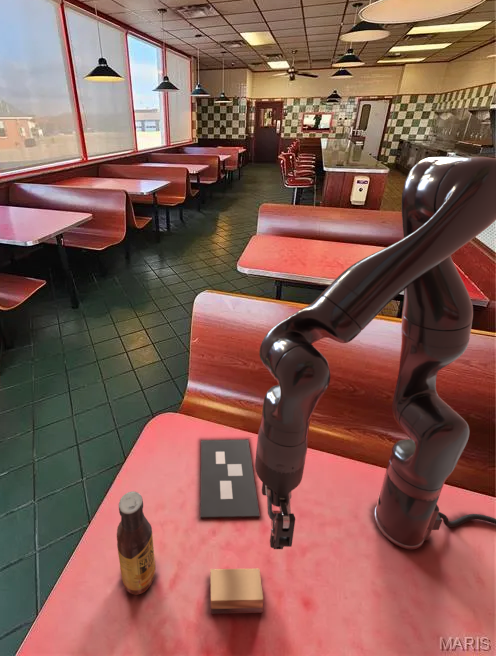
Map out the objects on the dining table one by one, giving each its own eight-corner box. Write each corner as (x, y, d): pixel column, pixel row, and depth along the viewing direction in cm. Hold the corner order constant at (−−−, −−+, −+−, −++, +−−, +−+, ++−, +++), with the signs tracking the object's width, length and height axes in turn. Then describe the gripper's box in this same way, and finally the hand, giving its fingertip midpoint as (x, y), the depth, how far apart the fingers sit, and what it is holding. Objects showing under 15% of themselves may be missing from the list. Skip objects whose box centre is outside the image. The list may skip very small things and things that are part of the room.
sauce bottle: (149, 600, 59) (139, 529, 52) (116, 592, 60) (103, 521, 53) (160, 558, 65) (154, 489, 58) (131, 551, 66) (121, 483, 59)
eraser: (258, 580, 62) (259, 568, 60) (262, 612, 57) (263, 599, 56) (210, 581, 62) (210, 569, 60) (210, 613, 57) (210, 600, 56)
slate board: (248, 440, 91) (248, 439, 91) (259, 517, 72) (259, 516, 72) (201, 441, 91) (201, 440, 91) (200, 518, 72) (200, 516, 72)
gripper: (319, 494, 45) (304, 567, 51) (293, 414, 58) (284, 479, 64) (264, 494, 45) (255, 566, 50) (251, 413, 58) (245, 478, 64)
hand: (271, 517), depth 57 cm, fingers open, 8 cm apart
